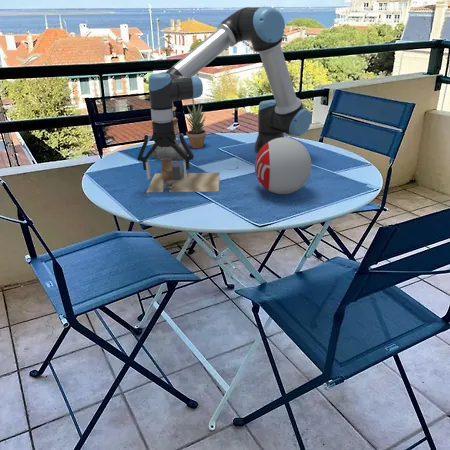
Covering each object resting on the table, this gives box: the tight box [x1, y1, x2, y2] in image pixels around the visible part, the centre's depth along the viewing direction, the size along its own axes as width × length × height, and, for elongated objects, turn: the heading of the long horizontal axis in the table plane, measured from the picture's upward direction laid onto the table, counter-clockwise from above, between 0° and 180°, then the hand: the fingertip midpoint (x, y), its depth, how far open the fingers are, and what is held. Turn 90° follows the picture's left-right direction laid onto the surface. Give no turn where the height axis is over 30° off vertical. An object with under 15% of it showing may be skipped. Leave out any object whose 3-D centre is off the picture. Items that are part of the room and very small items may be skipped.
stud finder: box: [172, 161, 183, 181], centre depth 175 cm, size 7×6×5 cm
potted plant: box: [185, 98, 207, 149], centre depth 212 cm, size 10×10×25 cm
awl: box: [160, 158, 173, 187], centre depth 165 cm, size 4×4×10 cm
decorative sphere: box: [254, 136, 312, 195], centre depth 159 cm, size 20×20×20 cm
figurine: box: [150, 105, 188, 162], centre depth 198 cm, size 14×11×25 cm
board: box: [145, 172, 221, 197], centre depth 171 cm, size 26×20×2 cm
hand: (167, 178), depth 166 cm, fingers open, 13 cm apart
